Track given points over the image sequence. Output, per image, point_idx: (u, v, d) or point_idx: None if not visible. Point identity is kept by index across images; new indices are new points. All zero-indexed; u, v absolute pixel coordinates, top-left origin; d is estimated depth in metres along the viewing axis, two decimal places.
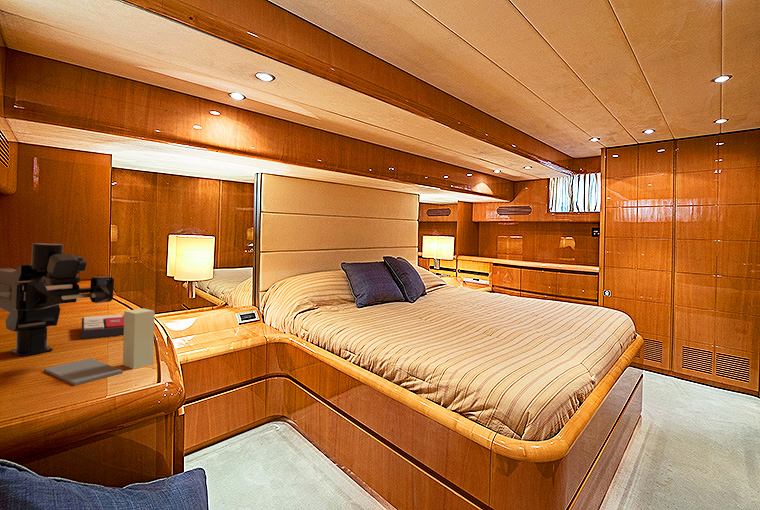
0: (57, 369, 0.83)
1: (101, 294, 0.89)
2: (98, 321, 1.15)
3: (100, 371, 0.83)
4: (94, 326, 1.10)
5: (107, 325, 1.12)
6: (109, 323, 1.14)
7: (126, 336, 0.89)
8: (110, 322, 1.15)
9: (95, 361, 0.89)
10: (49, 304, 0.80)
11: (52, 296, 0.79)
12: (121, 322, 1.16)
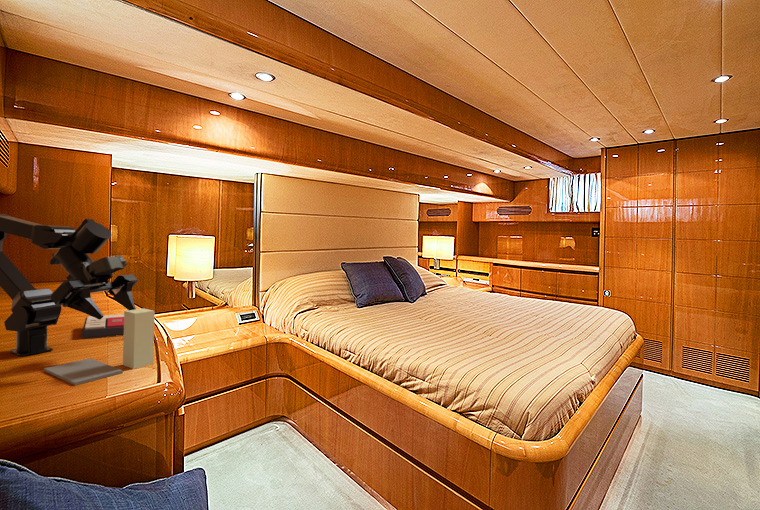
0: (57, 369, 0.83)
1: (125, 301, 0.96)
2: (100, 320, 1.16)
3: (100, 371, 0.83)
4: (95, 325, 1.11)
5: (108, 325, 1.13)
6: (110, 323, 1.15)
7: (126, 336, 0.89)
8: (112, 322, 1.16)
9: (95, 361, 0.89)
10: (87, 313, 0.86)
11: (95, 310, 0.86)
12: (122, 322, 1.16)
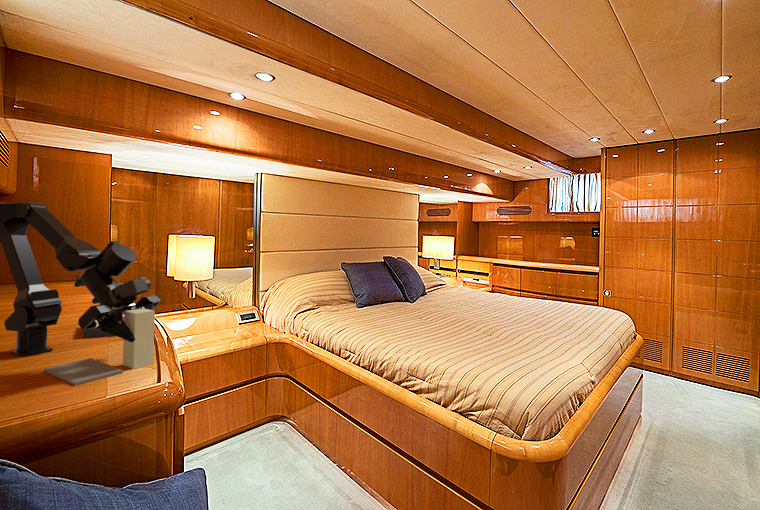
0: (57, 369, 0.83)
1: None
2: None
3: (100, 371, 0.83)
4: (96, 325, 1.11)
5: None
6: None
7: None
8: None
9: (95, 361, 0.89)
10: (120, 336, 0.86)
11: (127, 333, 0.86)
12: None
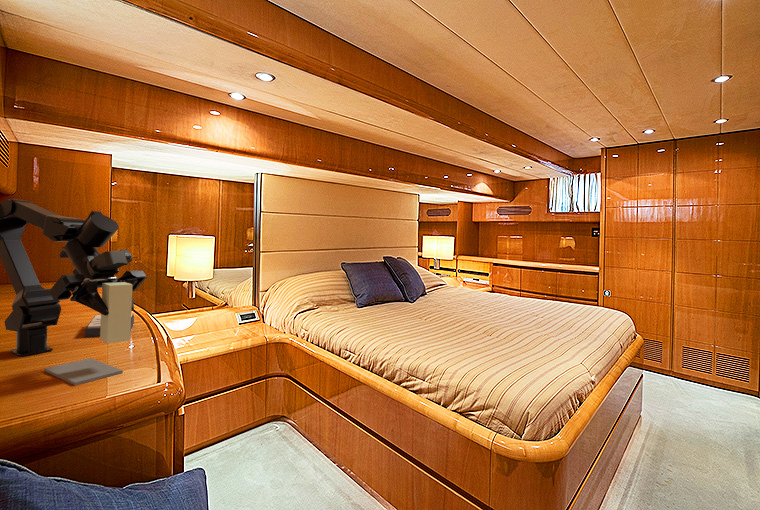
0: (57, 369, 0.83)
1: None
2: None
3: (100, 371, 0.83)
4: (98, 325, 1.12)
5: None
6: None
7: None
8: None
9: (95, 361, 0.89)
10: (94, 308, 0.83)
11: (101, 305, 0.83)
12: None
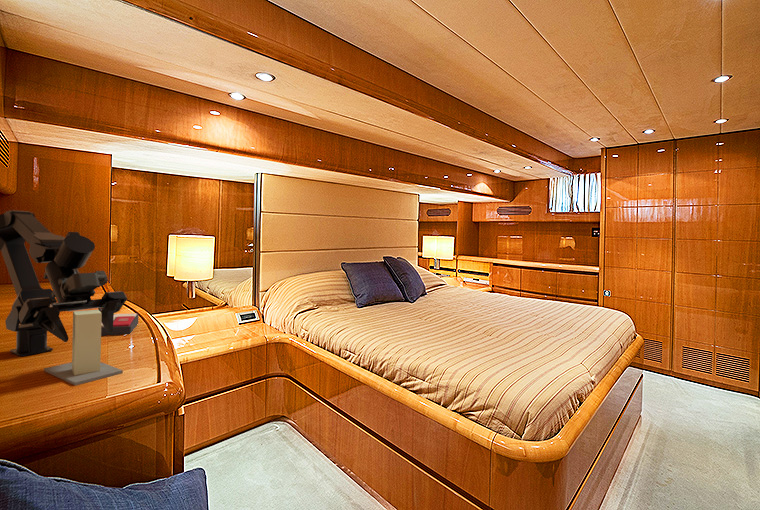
0: (57, 369, 0.83)
1: (105, 321, 0.87)
2: None
3: (100, 371, 0.83)
4: None
5: None
6: (116, 322, 1.16)
7: (73, 339, 0.82)
8: (118, 321, 1.17)
9: None
10: (55, 334, 0.79)
11: (60, 331, 0.78)
12: (127, 321, 1.18)
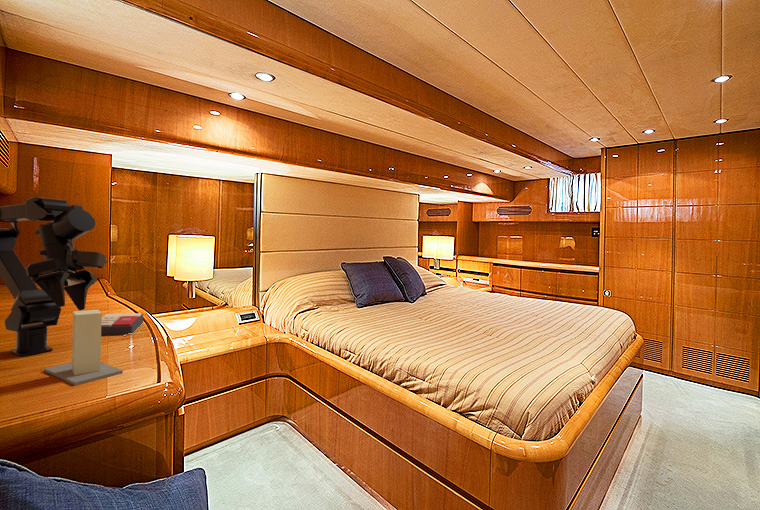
0: (57, 369, 0.83)
1: (78, 297, 0.93)
2: (112, 319, 1.19)
3: (100, 371, 0.83)
4: (102, 323, 1.14)
5: (114, 323, 1.15)
6: (118, 321, 1.17)
7: (73, 339, 0.82)
8: (120, 320, 1.18)
9: None
10: (51, 296, 0.83)
11: (61, 296, 0.84)
12: (130, 321, 1.18)
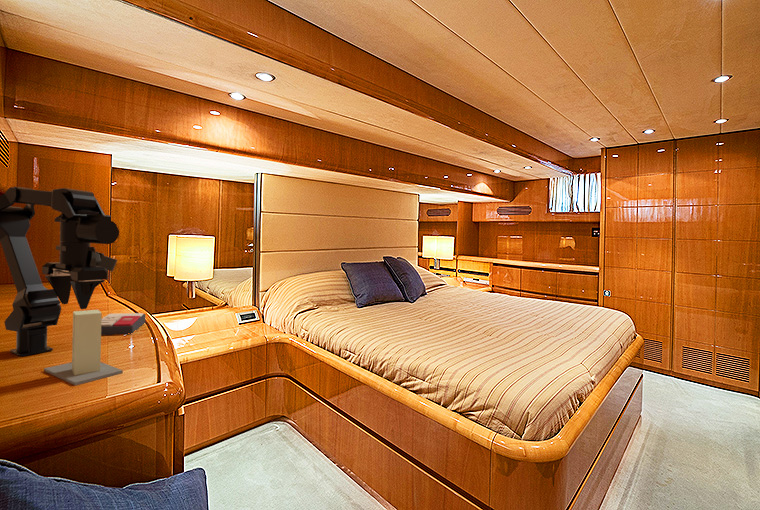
0: (57, 369, 0.83)
1: (64, 290, 0.93)
2: (113, 318, 1.19)
3: (100, 371, 0.83)
4: (103, 323, 1.14)
5: (115, 323, 1.15)
6: (119, 321, 1.17)
7: (73, 339, 0.82)
8: (122, 320, 1.18)
9: None
10: (80, 298, 0.87)
11: (88, 300, 0.89)
12: (131, 321, 1.18)
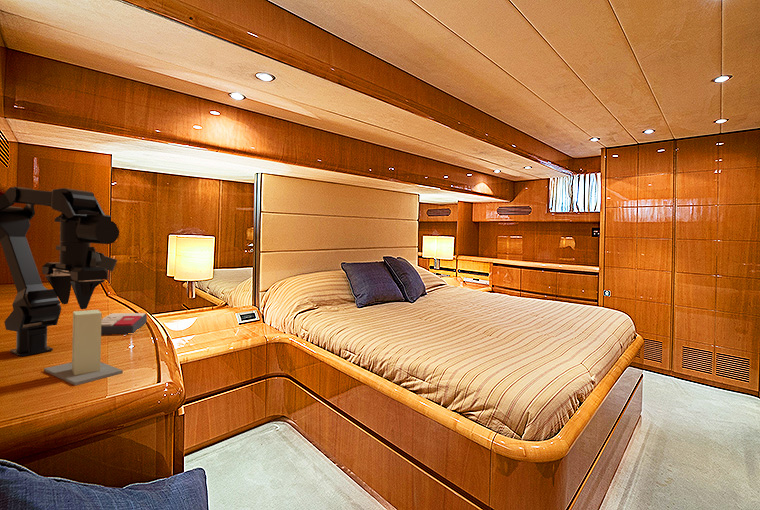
0: (57, 369, 0.83)
1: (64, 290, 0.93)
2: (114, 318, 1.20)
3: (100, 371, 0.83)
4: (104, 323, 1.14)
5: (116, 323, 1.15)
6: (120, 321, 1.17)
7: (73, 339, 0.82)
8: (122, 320, 1.18)
9: None
10: (80, 298, 0.87)
11: (88, 300, 0.89)
12: (131, 321, 1.18)
